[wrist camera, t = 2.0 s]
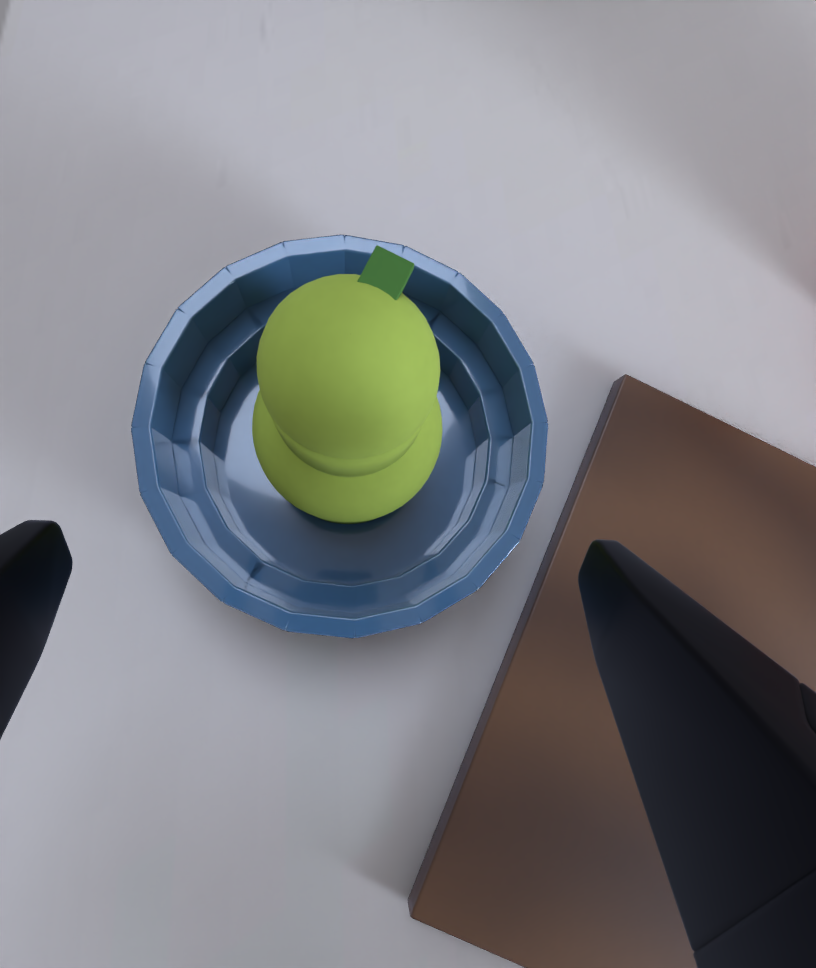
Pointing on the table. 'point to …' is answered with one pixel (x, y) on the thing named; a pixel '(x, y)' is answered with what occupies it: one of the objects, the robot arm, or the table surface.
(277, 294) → the bowl
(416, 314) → the pear plush
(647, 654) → the robot arm
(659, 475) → the serving board
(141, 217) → the table surface
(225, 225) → the table surface
